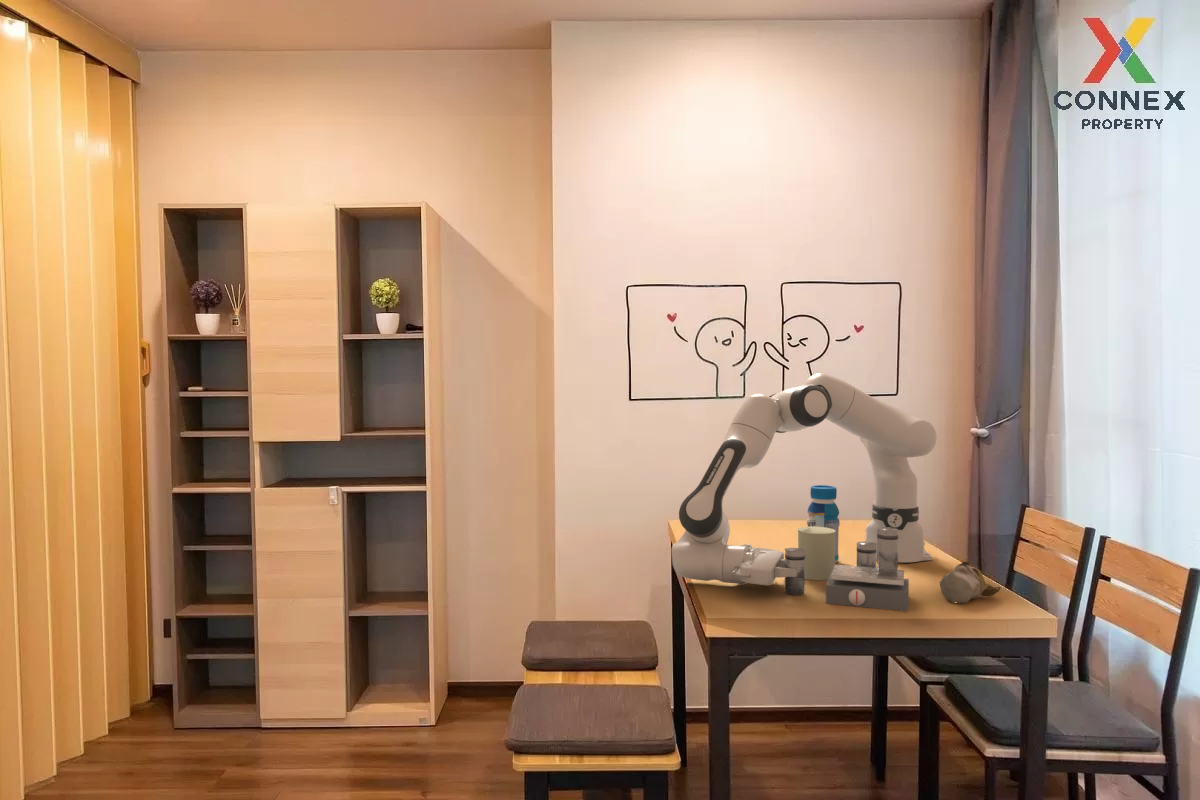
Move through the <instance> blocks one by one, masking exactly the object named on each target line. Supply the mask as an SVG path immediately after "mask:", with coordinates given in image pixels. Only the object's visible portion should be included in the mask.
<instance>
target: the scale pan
mask: <svg viewBox="0 0 1200 800" xmlns="http://www.w3.org/2000/svg"><path fill="white" fill-rule="evenodd" d="M831 579H835V580H846V581H858V582H869V583H881V584H892V585H904V579H905V570H904V569H898V575H897V576H881V575H878V574H877V567H876V568H871V567H859V566H857V565H845V564H835V566H834V569H833V571H832V574H831Z"/></svg>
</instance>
